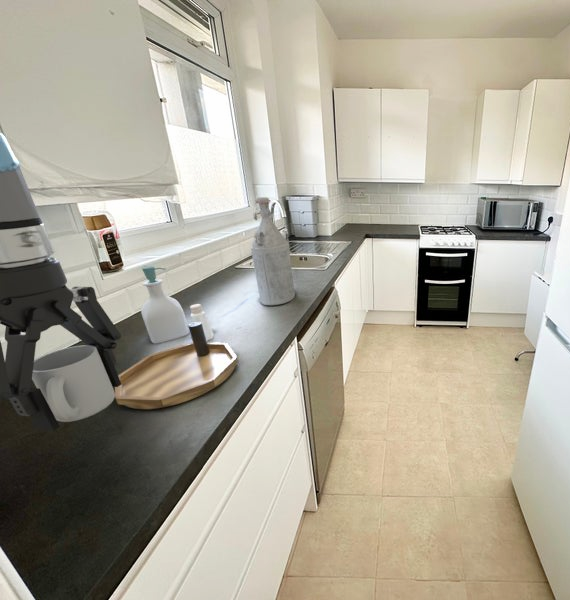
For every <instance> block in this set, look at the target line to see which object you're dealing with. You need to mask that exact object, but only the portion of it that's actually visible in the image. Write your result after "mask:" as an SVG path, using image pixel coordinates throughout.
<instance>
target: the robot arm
mask: <svg viewBox="0 0 570 600" xmlns="http://www.w3.org/2000/svg"><path fill="white" fill-rule="evenodd" d="M20 166H21V163H20V161H19V159H18V158H17V157H16V156H15V154H14V152H13V149H12V147H11V146H10V144H9V142H8V140H7V138H6V137H5V135H4V134H3V132H1V131H0V325H2V326H4V327H5V331H4V341H6V342H7V343H6V351H5V355H4V350H3V345H2V341H1V340H0V402H4V401H7V400H9V402H10V404H11V405H12V407H13V408H14V410H15V412H16V414H18V415H19V416H20V417H21V416H22V417H29V419H30V422H31V423H32V425H33V427H34V428H35V430H37V431H51V432H53V431H56V430H58V429H59V428H60V426H61V425H60V424H59V421H57V420H56V418H55V416H54V414H53V412H52V411H51V409H50V407H49V405H48V403H47V401H46V399H45V397H44V395H43V394H42V392H41V390H40V388H37V387H32V383H33V382H32V381H33V380H32V374H33V365H34V360H35V357H36V347H37V343H38V342H39V341H40V340H41V335H42V333H43V332H45V331H47V330H48V329H50V328H51V327H56V326H60V327H62V328H64V330H66V331H68V332H70V333H71V334H72V335H73V336H74V337H76V338H78V339H79V340H81V341H82V342H83V343H84V344H86V345H90V346H94V347H96V349H97V351H98V353H99V356H100V358H101V360H102V363H103V365H104V368H105V370H106V372H107V375H108V377H109V380H110V382H111V384H112V387H113V388H115V387H118V386H120V385H121V381H120V379H119V377H118V375H119V373H118V372H117V370H116V367H115V365H117V358H116V356H115V354H114V352H113V350H114V349H116V348H117V346H118V345H117V342H116V341H119V340H120V339H121V338H122V334H121V333H120V331H119V329H118V328H117V327H116V326H115V324H114V322H113V321H112V320H111V319H110V317H109V315H108V314H107V312H106V311H105V310H104V308H103V307H102V305H101V304H100V303H99V301H98V299H97V295H96V291H95V288H94V287H93V286H73V287H72V288H71V289H70V288H68V286H67V285H66V284H67V283H68V279H67V277H66V274H65V272H64V269H63V267H62V265H61V263H60V260H59V259H57V258H56V257H51V256H53V255H54V253H55V252H56V251H55V248H54V246H53V244H52V242H51V239H50V236H49V235H48V232H47V229H46V227H45V225H44V223H43V221H42V219H41V216H40V214H39V211H38V209H37V206H36V203H35V202H34V198H33V197H32V194H31V192H30V189H29V187H28V184H27V181H26V179H25V176H24V174H23V172H22V169H21V167H20ZM72 302H74V303H75V306H76V308H78V310H79V311H80V312H81V314H82V315H83V317H84V318H85V320H87V322H88V323H87V322H86V321H85V320H84V319H82V318H83V317H82V315H80V314H79V313H77V312H76V311H75V310H74V309H72V308H71V307H72ZM22 333H23V334H22Z"/></svg>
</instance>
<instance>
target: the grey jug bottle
mask: <svg viewBox="0 0 570 600" xmlns="http://www.w3.org/2000/svg"><path fill="white" fill-rule="evenodd" d="M255 198H256V199H255V200H254V201H255V202H254V207H256V204H258V207H256V209H255V211H254V212H253V213H252V216H253V219H254V220H255V221H258V215H260V217H261V220H260V223H259V226H258V228H257V231H255V232H254V237H253V240H252V243H251V246H250V247H249V248H250V251H251V256H252V263H253V268H254V274H255V279H256V284H257V291H258V295H259V300H260V303H261V305H264V306H279V305H282V304H286V303H289V302H292V300H294V299H295V296H296V294H295V285H294V276H293V268H292V260H291V251H290V243H289V242H288V241H287V239H286V238H285V237H284V235H283V234H282V232H281V231H280V230H279V228H278V227H277V226H276V224H275V223H274V222H273V220H272V219H273V217H274V213H272V212H271V210H270V203H272V201H271V200H270V199H269V197H268V196H255ZM258 209H259V212H257V210H258Z"/></svg>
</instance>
